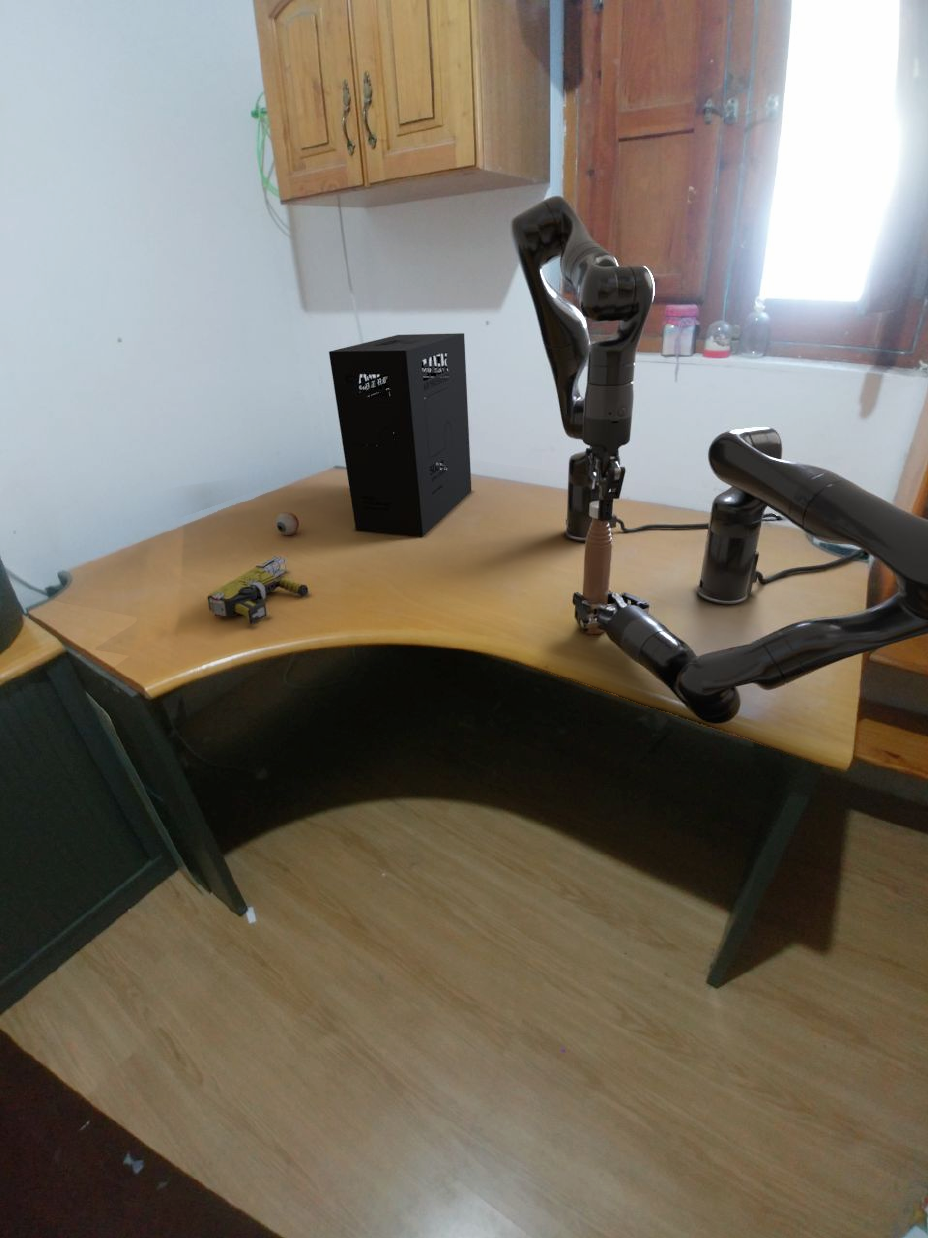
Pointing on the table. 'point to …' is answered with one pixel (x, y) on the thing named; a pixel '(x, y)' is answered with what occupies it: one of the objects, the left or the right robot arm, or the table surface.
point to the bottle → (597, 565)
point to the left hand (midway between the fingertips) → (600, 515)
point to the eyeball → (287, 523)
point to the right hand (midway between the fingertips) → (587, 593)
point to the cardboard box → (404, 430)
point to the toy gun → (252, 591)
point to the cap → (594, 509)
